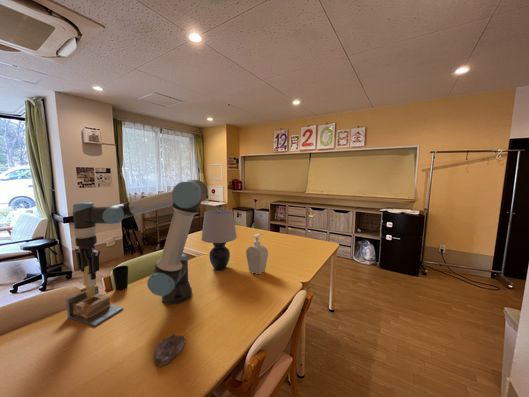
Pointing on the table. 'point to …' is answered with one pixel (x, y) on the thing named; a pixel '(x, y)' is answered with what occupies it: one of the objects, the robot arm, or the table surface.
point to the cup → (120, 277)
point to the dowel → (89, 290)
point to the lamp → (219, 236)
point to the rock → (168, 349)
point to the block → (91, 305)
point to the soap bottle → (257, 256)
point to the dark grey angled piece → (94, 319)
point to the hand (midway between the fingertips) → (89, 284)
